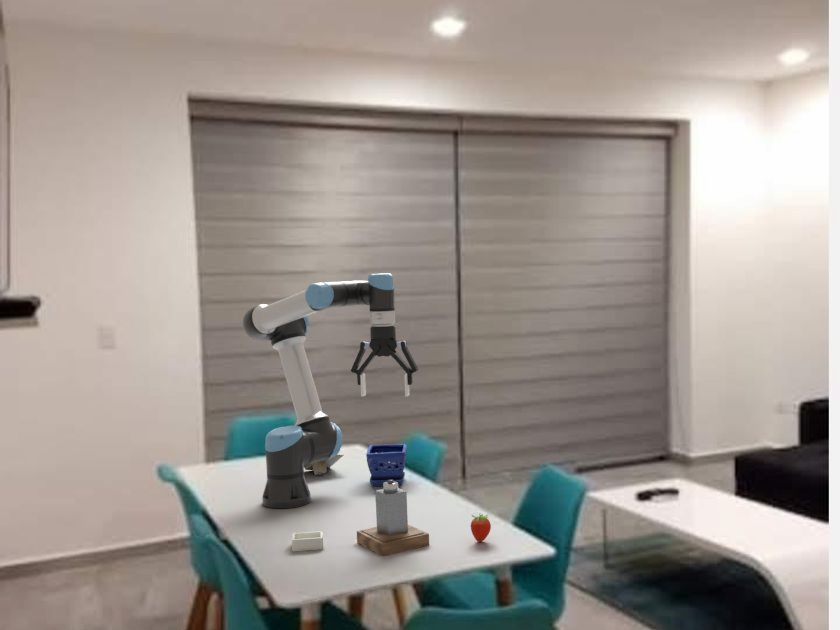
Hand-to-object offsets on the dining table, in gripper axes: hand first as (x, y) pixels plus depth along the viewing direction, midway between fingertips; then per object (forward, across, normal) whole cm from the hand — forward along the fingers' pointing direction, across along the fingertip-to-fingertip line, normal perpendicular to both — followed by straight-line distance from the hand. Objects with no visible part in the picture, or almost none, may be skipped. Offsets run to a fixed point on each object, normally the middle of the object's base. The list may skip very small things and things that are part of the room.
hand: (385, 395), depth 264 cm
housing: (+31, +9, -31) cm, 45 cm away
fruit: (+35, +32, -27) cm, 55 cm away
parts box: (+35, -13, -36) cm, 52 cm away
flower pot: (+35, -9, +32) cm, 48 cm away
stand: (+35, +9, -31) cm, 47 cm away
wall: (+35, -38, +42) cm, 67 cm away
